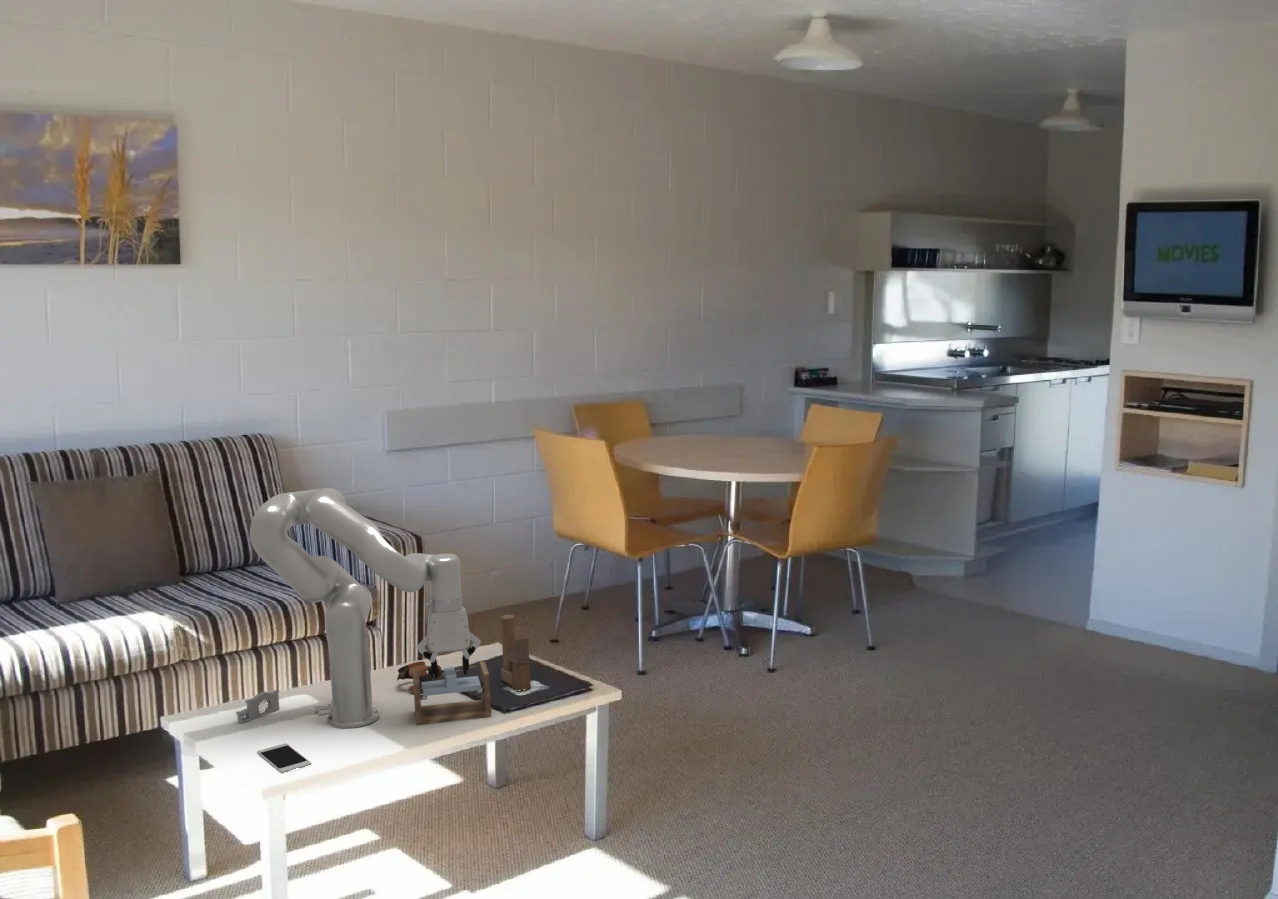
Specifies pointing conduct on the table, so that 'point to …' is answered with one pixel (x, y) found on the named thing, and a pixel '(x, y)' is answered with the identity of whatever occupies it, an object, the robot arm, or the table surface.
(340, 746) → the table surface
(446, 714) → the shelf unit
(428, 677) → the pottery mug
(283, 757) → the smartphone
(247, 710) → the garden wall model
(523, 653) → the wooden block
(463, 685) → the shelf board
